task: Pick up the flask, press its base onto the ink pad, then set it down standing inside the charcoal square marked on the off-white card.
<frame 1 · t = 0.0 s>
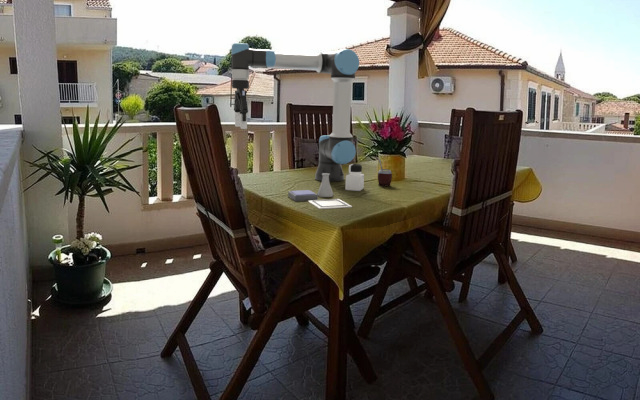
hand: (240, 127, 223), 28 cm above the table, tool pointing down, fingers open, 13 cm apart
medicine bottle: (354, 189, 233), on the table
flask: (325, 196, 216), on the table
mate gourd: (383, 186, 244), on the table
ink pad: (302, 198, 211), on the table
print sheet: (329, 204, 200), on the table
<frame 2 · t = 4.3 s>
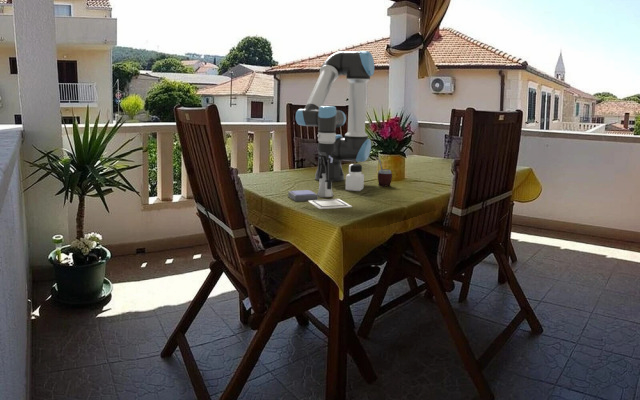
hand: (325, 194, 216), 1 cm above the table, tool pointing down, fingers closed on flask, 7 cm apart
flask: (325, 196, 216), on the table, touching gripper
everything else where it was.
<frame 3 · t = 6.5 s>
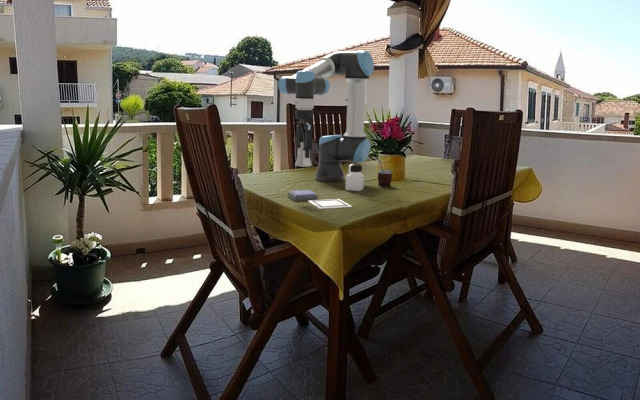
hand: (303, 164, 208), 15 cm above the table, tool pointing down, fingers closed on flask, 7 cm apart
flask: (303, 166, 208), point 14 cm above the table, touching gripper
everything else where it was.
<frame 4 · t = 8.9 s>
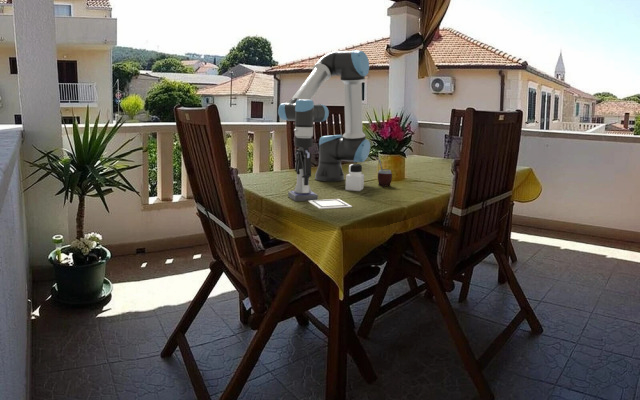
hand: (302, 190, 210), 3 cm above the table, tool pointing down, fingers closed on flask, 7 cm apart
flask: (302, 192, 210), point 2 cm above the table, touching gripper, ink pad
everything else where it was.
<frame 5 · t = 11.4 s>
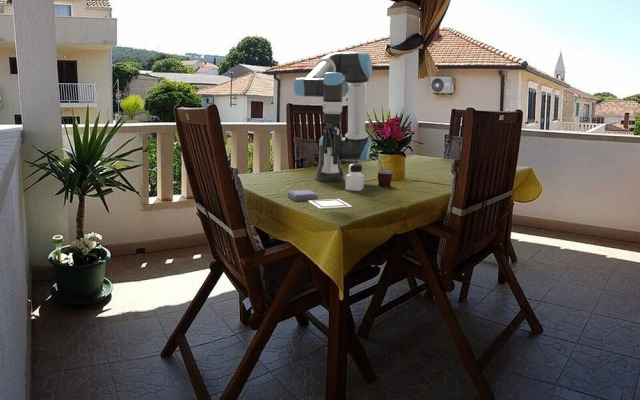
hand: (330, 170, 197), 14 cm above the table, tool pointing down, fingers closed on flask, 7 cm apart
flask: (330, 173, 197), point 13 cm above the table, touching gripper
everything else where it was.
when the fingers open (2 cm above the table, at t = 13.7 s): flask stays where it is, resting on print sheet.
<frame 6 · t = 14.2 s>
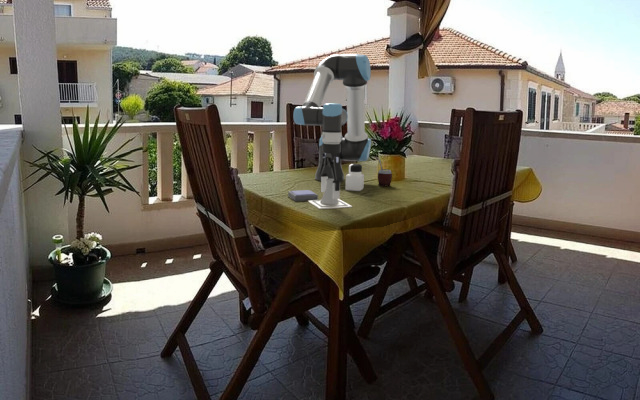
hand: (329, 195, 200), 4 cm above the table, tool pointing down, fingers open, 13 cm apart
flask: (329, 203, 200), resting on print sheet
everything else where it was.
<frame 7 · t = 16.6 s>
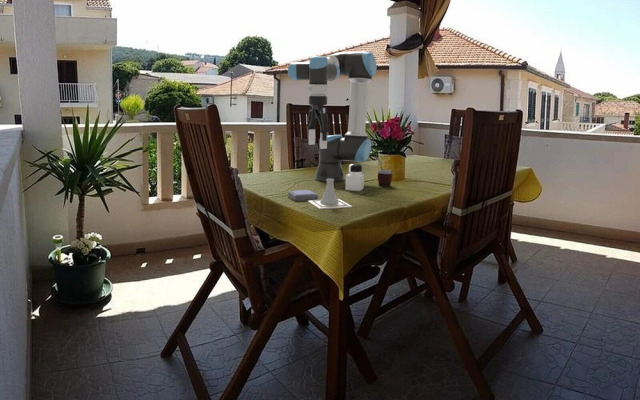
hand: (317, 146, 208), 22 cm above the table, tool pointing down, fingers open, 13 cm apart
nothing on the table moved.
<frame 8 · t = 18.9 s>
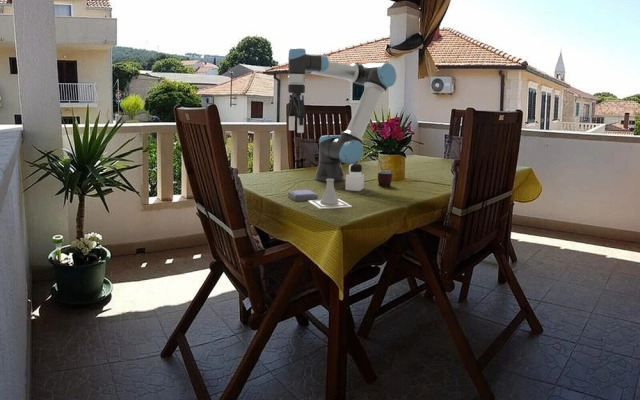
hand: (295, 131, 225), 27 cm above the table, tool pointing down, fingers open, 13 cm apart
nothing on the table moved.
at the end: flask inside the target area on the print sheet (0.1 cm from its centre), point 0.2 cm above the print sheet's base; flask tilted 0°; the gripper is holding nothing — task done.
